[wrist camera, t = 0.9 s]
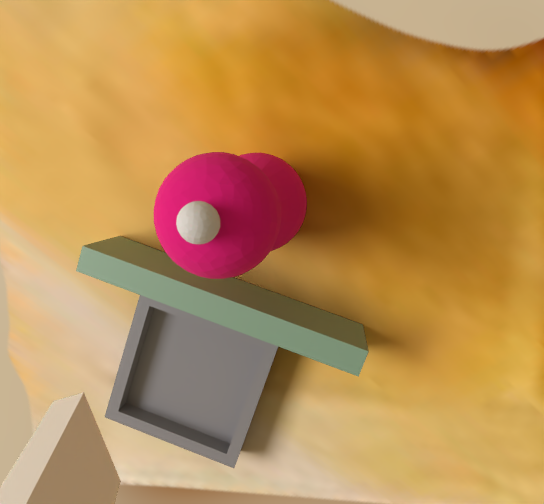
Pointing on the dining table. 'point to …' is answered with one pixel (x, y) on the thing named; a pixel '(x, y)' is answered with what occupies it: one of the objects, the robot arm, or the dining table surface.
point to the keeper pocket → (189, 381)
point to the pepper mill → (228, 212)
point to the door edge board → (228, 303)
